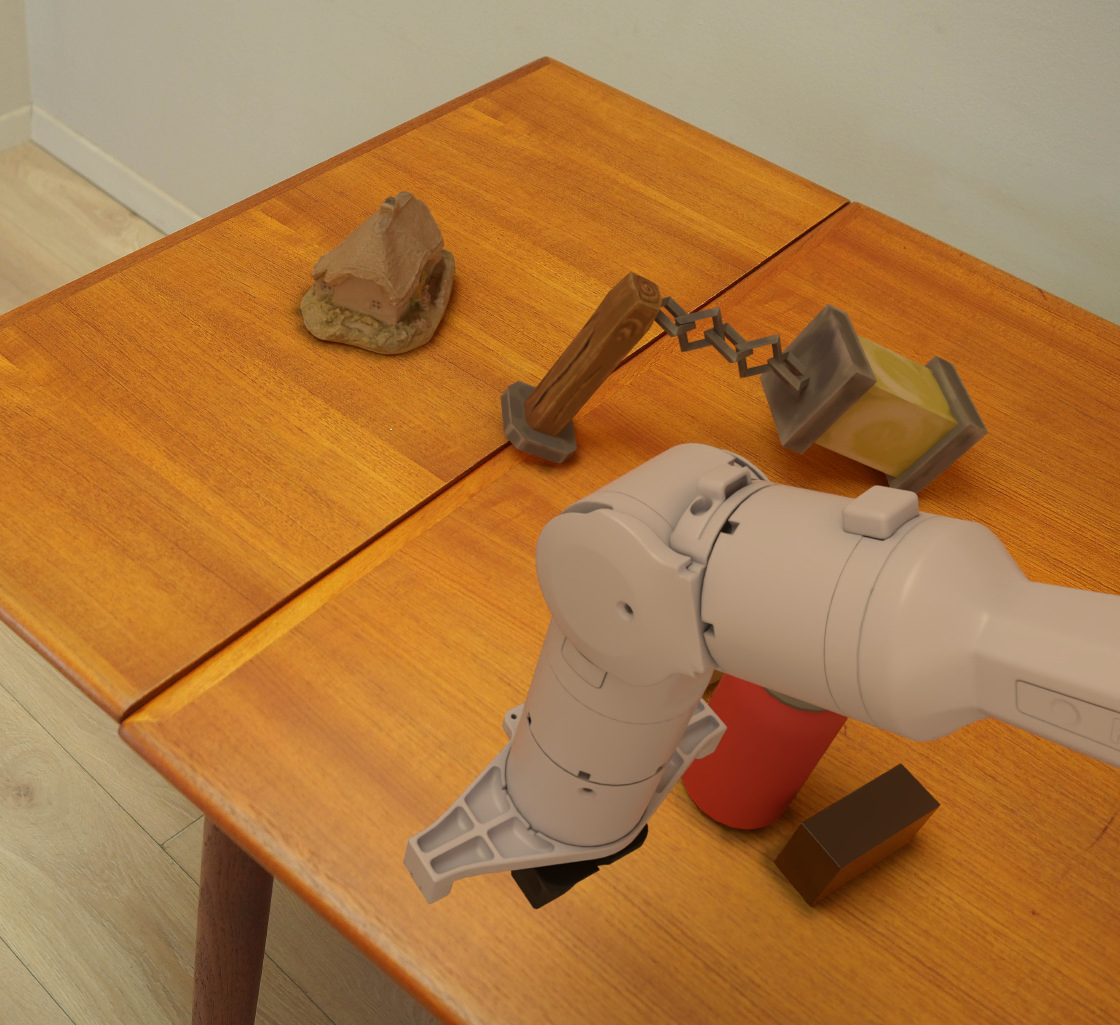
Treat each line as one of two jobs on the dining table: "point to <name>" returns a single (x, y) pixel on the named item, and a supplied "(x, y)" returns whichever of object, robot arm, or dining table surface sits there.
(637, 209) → the dining table surface
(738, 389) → the dining table surface
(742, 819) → the beer can
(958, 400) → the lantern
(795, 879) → the walnut block
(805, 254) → the dining table surface
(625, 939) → the dining table surface
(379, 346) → the ceramic model
